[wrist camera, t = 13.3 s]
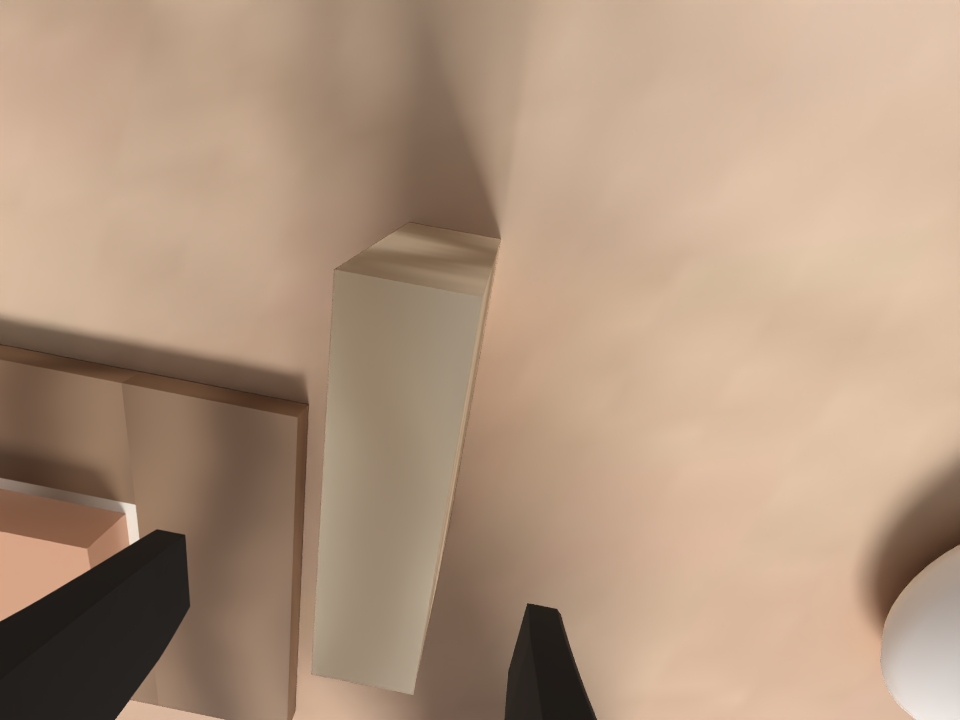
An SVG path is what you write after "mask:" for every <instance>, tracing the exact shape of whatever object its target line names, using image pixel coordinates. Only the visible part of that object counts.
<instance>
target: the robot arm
mask: <svg viewBox="0 0 960 720" xmlns="http://www.w3.org/2000/svg"><path fill="white" fill-rule="evenodd" d="M189 608H190V595H189V580H188V566H187V551H186V537H185V535H184V534H179V533H174V532H169V531H164V530H159V529H156V530H154V531H153V532H151V533H149V534H148V535H146V536H144V537H143V538H141V539H139V540H138V541H136V542H134V543H133V544H131V545H129V546H128V547H126V548H124V549H123V550H121V551H119V552H118V553H116V554H115V555H113V556H111V557H110V558H108V559H106V560H105V561H103V562H101V563H100V564H98V565H96V566H95V567H93V568H92V569H90V570H88V571H87V572H85V573H83V574H82V575H80V576H78V577H77V578H75V579H73V580H71V581H70V582H68V583H66V584H65V585H63V586H61V587H60V588H58V589H56V590H55V591H53V592H51V593H50V594H48V595H46V596H44V597H43V598H41V599H39V600H38V601H36V602H34V603H33V604H31V605H29V606H27V607H25V608H24V609H22V610H20V611H18V612H16V613H14V614H13V615H11V616H9V617H7V618H5V619H4V620H2V621H0V720H115V719H116V718H117V716H118V715H119V714H120V712H121V711H122V710H123V708H124V707H125V706H126V704H127V703H128V702H129V700H130V699H131V697H132V696H133V695H134V693H135V692H136V691H137V689H138V688H139V687H140V685H141V684H142V682H143V681H144V680H145V678H146V677H147V676H148V674H149V673H150V671H151V670H152V669H153V667H154V666H155V665H156V663H157V662H158V660H159V659H160V658H161V656H162V654H163V653H164V651H165V649H166V648H167V646H168V644H169V643H170V641H171V639H172V638H173V636H174V634H175V633H176V631H177V629H178V627H179V626H180V624H181V622H182V620H183V619H184V617H185V615H186V613H187V611H188V610H189ZM505 720H597V718H596V716H595V713H594V711H593V708H592V706H591V703H590V701H589V698H588V696H587V693H586V691H585V688H584V685H583V683H582V680H581V677H580V674H579V671H578V668H577V666H576V663H575V660H574V657H573V654H572V651H571V648H570V645H569V641H568V638H567V635H566V632H565V628H564V625H563V621H562V617H561V614H560V613H559V611H558V610H557V609H554V608H549V607H544V606H539V605H534V604H529V603H527V607H526V610H525V614H524V617H523V621H522V625H521V628H520V632H519V635H518V639H517V642H516V646H515V650H514V653H513V657H512V660H511V664H510V668H509V672H508V683H507V695H506V707H505Z"/></svg>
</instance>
